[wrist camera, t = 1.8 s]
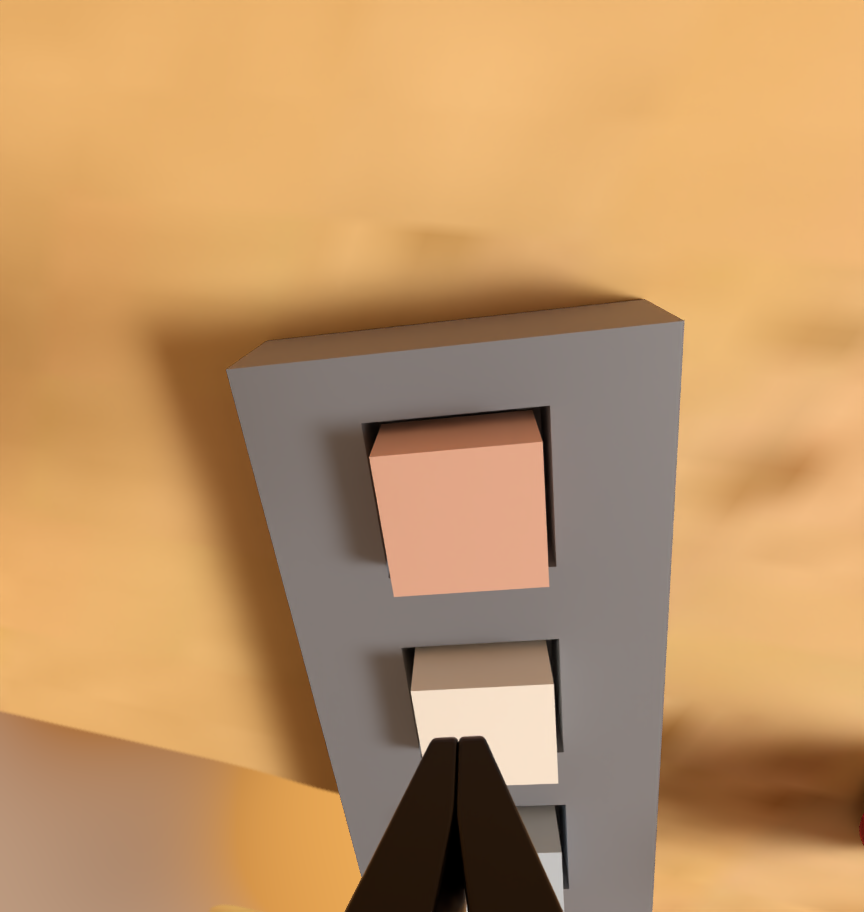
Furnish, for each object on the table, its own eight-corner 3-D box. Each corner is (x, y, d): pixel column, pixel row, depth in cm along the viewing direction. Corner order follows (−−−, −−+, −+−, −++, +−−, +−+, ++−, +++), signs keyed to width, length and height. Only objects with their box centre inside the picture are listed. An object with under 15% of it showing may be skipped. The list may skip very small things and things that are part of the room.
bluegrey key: (453, 862, 25) (452, 926, 23) (441, 793, 23) (439, 855, 21) (555, 860, 25) (564, 924, 22) (552, 789, 23) (561, 852, 21)
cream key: (431, 729, 22) (427, 788, 20) (416, 638, 20) (410, 691, 18) (548, 724, 21) (558, 783, 19) (544, 630, 20) (553, 684, 18)
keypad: (382, 838, 29) (372, 919, 26) (266, 340, 19) (225, 369, 16) (630, 832, 28) (651, 915, 24) (644, 299, 18) (684, 320, 14)
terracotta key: (402, 550, 19) (393, 596, 17) (381, 424, 17) (369, 457, 15) (539, 540, 18) (549, 586, 16) (532, 409, 17) (542, 441, 14)
